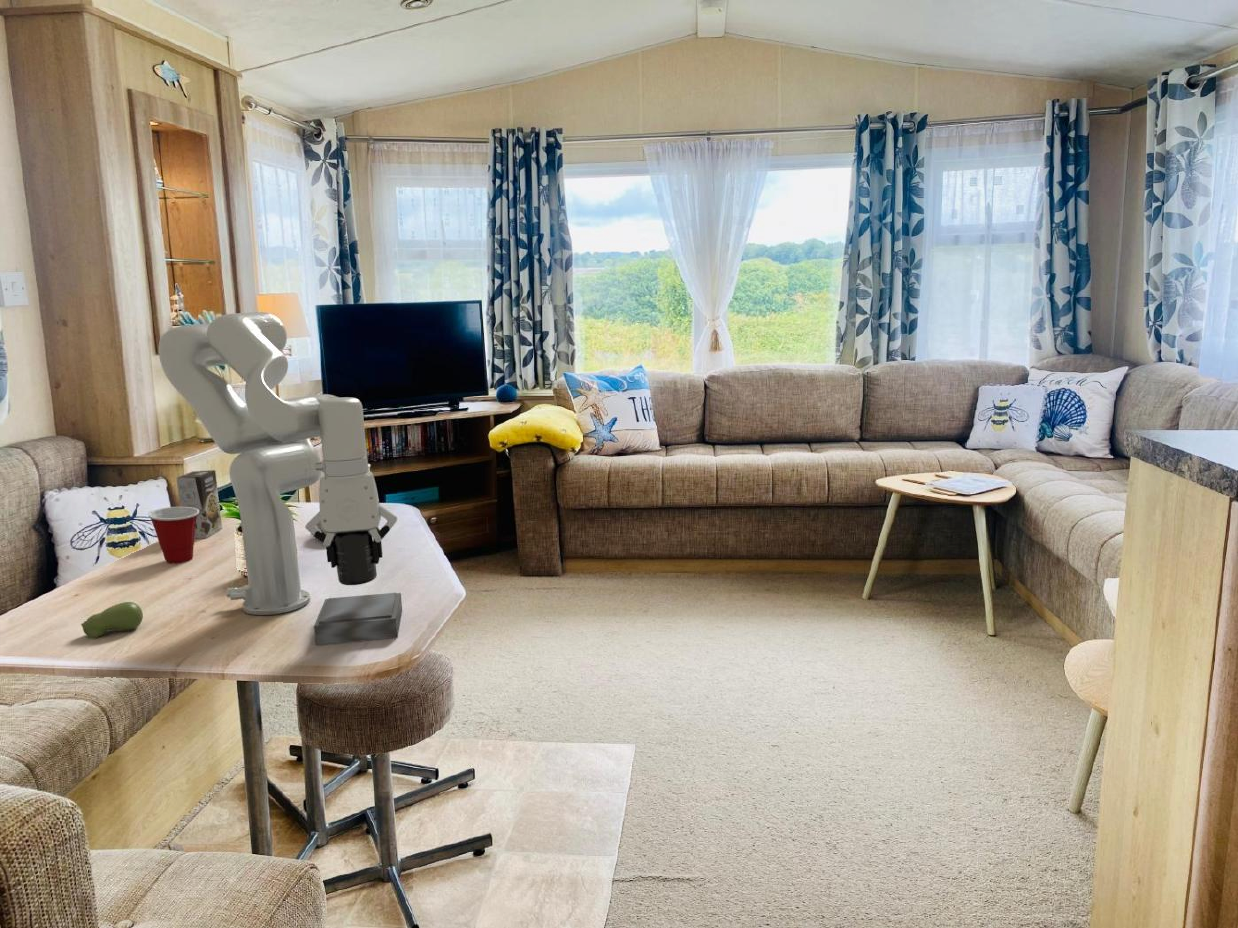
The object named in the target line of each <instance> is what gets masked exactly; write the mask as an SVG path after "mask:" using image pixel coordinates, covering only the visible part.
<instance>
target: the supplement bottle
mask: <svg viewBox="0 0 1238 928" xmlns="http://www.w3.org/2000/svg"><path fill="white" fill-rule="evenodd" d="M333 542H334V549H335V558H336V571H337V579H338V582H339V583H340V584H341V585H345V586H359V585H363V584H364V585H365V584H367V583H371V582H372V581H374V580H376V578H377V564H375V563H374V558H373V548H372V543H373V537H372V535H371V534H370V532H369V531H368V530H366V531H355V532H343V533H336V534H335V535H334V538H333Z"/></svg>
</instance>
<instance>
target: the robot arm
mask: <svg viewBox="0 0 1238 928" xmlns="http://www.w3.org/2000/svg"><path fill="white" fill-rule="evenodd" d="M287 334H288V333H287V331H286V328H285V325H284V324H283V322H282V321H281V320H280V319H279V317H277V316H276V315H273V313H269V312H265V311H261V312H259V311H257V312H237V313H228V314H223V315H220V316H218V317H216V318H215V319H213V320H212V321H211V322H210V323H194V324H193V323H192V324H185V325H179V326H176V327H173V328H171V329H168V330H167V331H165V332H164V333H163V334H162V336H161V337H160V338H159V343H158V356H159V362H160V365H161V368H162V370H163V373H164V374H165V377H166V379H168V381H169V382H170V384H171V385H172V386H173V389H174V388H175V390H176V391H177V392H178V393H179V394H180V395H181V396H182V397H183V399H185V400H186V402H187V403H188V404H189V405H190V406H191V408H192V410H193V411H194V412H195V414H196V416H197V417H198V419H199V420H200V422H201V423H202V425H203V427H204V428H205V429H206V431H207V433H208V434H209V437H211V440H213V441H214V443H215V445H216V446H217V447H218V448H219V449H220V450H221V451H222V452H223V453H226V454H228V455H237V456H236V457H234V458H233V460H232V461H231V463H230V465H229V466H230V467H229V470H228V471H229V479H230V482H231V487H232V489H233V492H234V495H235V497H236V498H235V499H236V501H237V505H238V507H237V508H238V512H239V516H240V525H241V532H242V540H243V549H244V559H245V564H246V565H245V566H246V574H247V581H248V582H247V583H248V584H246V585H243V586H242V587H238V586H237V587H235V586H234V587H227V588H226V596H227V598H228V599H229V598H230V601H236V600H243V602H242V604H241V605H242V610H243V612H245V613H247V614H250V615H255V616H268V615H269V616H271V615H278V614H283V613H289V612H292V611H295V610H298V609H301V608H302V607H305V606H306V605H307V604H309V603H310V600H311V596H310V592H308V591H307V590H305V589H301V588H302V587H301V578H300V570H299V569H300V568H299V560H298V559H299V557H298V552H297V551H298V550H297V540H296V532H295V525H294V523H295V522H294V517H293V513H292V511H291V509H290V508H289V506H288V505H287V503H285V502H284V500H283V499H282V498H281V496H280V495H282V494H285V493H289V492H293V491H297V490H301V489H304V488H308V487H310V486H313V485H314V484H316V483H317V482H318V481H319V488H318V489H319V492H318V494H319V495H318V496H319V497H318V498H319V511H318V512H317V513H316V514H315V515H313V517H312V518H311V519H310V520H309V521H308V522H307V523H306V524H305V526H304V528H305V529H306V531H308V532H309V533H310V535H311V534H313V535H314V536H315V537H314V538H315V539H316V538H317V539H316V540H318V541H320V542H321V544H323V546H324V547H325V550H326V551H325V552H326V558H327V563H330V565H331V569H334V568H337V565H336V558H335V549H334V542H333V538H334V535H335V533H343V532H355V531H366V530H368V531H369V532H370V534H371V535H372V538H373V543H372V548H373V558H374V563H375V564H376V565H378V564H379V563H380V558H381V559H382V558H383V545H382V540H383V539H384V538H385V537H386V535H387V534H388V533H389V532H390V530H391V529H392V528H394V526H395V524H396V523H397V521H398V517H397V516H396V515H395V514H393V512H390V510H387V508H384V506H383V505H380V499H379V494H378V493H379V492H378V488H377V483H376V480H375V476H374V473H373V472H372V471H370V472H369V471H368V464H369V461H368V460H369V459H368V451H367V442H366V432H365V431H366V429H365V421H364V408H363V404H362V402H361V401H360V399H358V398H356V397H347V396H345V397H339V396H336V395H333V394H328V393H327V394H326V393H324V394H313V395H305V396H300V397H293V398H292V397H291V398H285V399H281V398H280V397H279V396H278V395H276V393H274V392H273V391H272V390H273V389H274V388H276V387H277V386H278V385H279V384H280V383H282V381H283V380H284V378H285V377H286V375H287V374H288V373H287V372H288V371H289V370H288V369H289V362H288V359H287V357H286V355H285V354H284V353H283V352H282V351H283V350H284V349H285V347H286V344H287V340H288V337H287V336H288V335H287ZM227 365H228V366H229V367H230V368H231V369H232V370H233V371H234V372H235V373H236V374H237V375H239V377H240V378H241V379H242V380H243V381H244V382H245V386H244V397H245V401H244V400H243V399H242V398H241V397H240V396H239V395H238V393H237V392H236V390H235V389H234V387H233V386H232V384H231V383H229V382H228V381H227V380H226V379H225V378H224V377H222V376H221V375H219V374H217V373H215V372H213V371H212V370H209V369H208V367H216V366H217V367H218V366H227ZM319 437H320V442H321V452H322V460H321V458H320V455H319V454H318V451H317V449H316V447H314V446H315V445H314V444H313V443H312V442H311V440H310V439H312V438H313V439H314V438H319ZM322 473H323V475H322ZM381 517H382V518H384V519H385V520H386V523H385V524H384V525H383V526H382V527H381V528H379V525H380V522H381ZM319 521H320V522H321V528H322V530H323V531H324V532H326V533H327V534H325V533H324V532H323V531H321V530H319V529H318V527H317V526H316V524H317V523H318V522H319ZM313 535H312V536H313Z"/></svg>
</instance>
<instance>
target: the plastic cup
mask: <svg viewBox="0 0 1238 928" xmlns="http://www.w3.org/2000/svg"><path fill="white" fill-rule="evenodd" d="M198 514H199V510H198V509H196V508H192V507H180V506H170V507H164V508H163V507H161V508H158V509H155V510H152V511H150V512H148V518H149V519H150V521H151V523H152V525H153V528H154V531H155V534H156V538H157V540H158V544H159V546H160V550H161V552H162V555H163V557H164V561H165V562H166V564H172V565H173V564H181V563H182V564H183V563H186V562H189V561H191V560H193V557H194V546H195V538H194V536H195V524H196V520H197V516H198Z"/></svg>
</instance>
